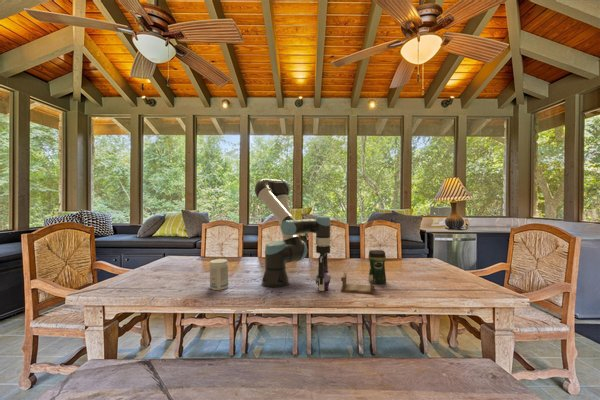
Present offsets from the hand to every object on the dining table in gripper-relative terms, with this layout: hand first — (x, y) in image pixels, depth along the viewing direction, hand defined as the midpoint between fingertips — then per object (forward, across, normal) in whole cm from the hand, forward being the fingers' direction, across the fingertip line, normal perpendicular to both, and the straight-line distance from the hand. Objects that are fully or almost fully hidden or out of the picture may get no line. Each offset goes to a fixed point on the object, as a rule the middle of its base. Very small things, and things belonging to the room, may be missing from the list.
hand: (323, 287), depth 147 cm
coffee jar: (+1, +20, -28) cm, 34 cm away
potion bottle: (+1, 0, 0) cm, 1 cm away
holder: (+1, +4, -18) cm, 18 cm away
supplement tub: (+1, -12, +55) cm, 56 cm away
